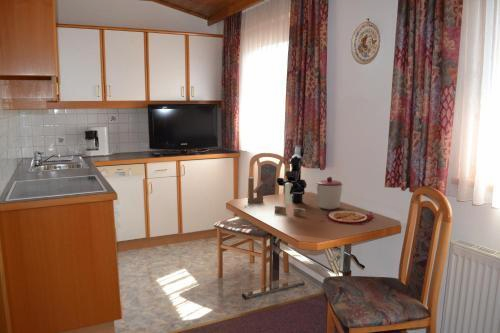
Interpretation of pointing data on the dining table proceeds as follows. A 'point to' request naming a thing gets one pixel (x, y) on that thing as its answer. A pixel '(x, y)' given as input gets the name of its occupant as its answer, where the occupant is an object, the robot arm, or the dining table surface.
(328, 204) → the canister
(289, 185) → the sage plank
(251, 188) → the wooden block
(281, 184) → the robot arm
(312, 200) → the dining table surface
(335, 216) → the plate with food
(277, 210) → the walnut slotted plate
